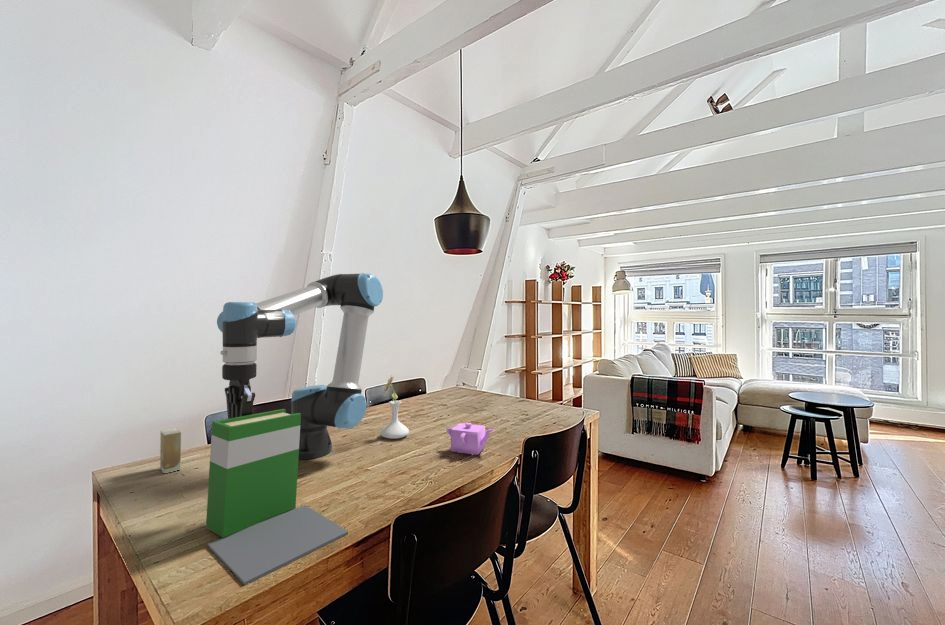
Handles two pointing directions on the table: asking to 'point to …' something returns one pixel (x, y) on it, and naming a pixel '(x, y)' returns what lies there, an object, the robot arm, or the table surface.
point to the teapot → (468, 438)
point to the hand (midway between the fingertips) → (239, 455)
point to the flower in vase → (394, 418)
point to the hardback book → (252, 470)
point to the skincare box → (170, 450)
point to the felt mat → (275, 543)
